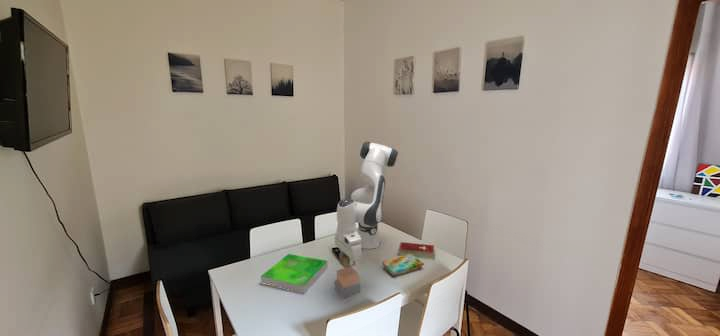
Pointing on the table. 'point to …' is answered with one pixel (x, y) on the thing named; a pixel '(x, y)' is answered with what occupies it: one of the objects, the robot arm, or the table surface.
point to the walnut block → (345, 260)
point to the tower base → (347, 289)
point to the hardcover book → (416, 250)
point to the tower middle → (347, 277)
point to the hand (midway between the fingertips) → (347, 261)
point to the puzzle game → (402, 264)
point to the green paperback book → (295, 273)
